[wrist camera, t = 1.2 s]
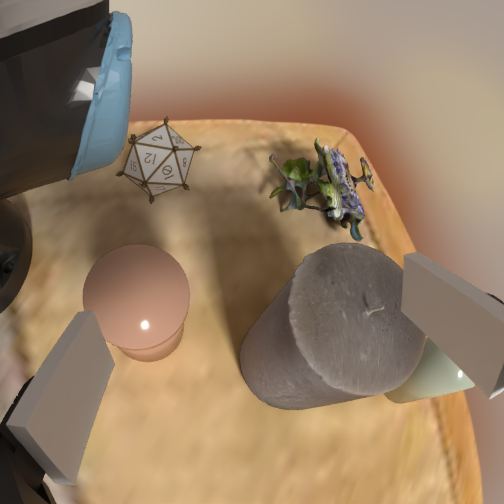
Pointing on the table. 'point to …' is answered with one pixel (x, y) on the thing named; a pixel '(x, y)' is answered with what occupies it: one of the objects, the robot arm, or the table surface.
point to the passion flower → (327, 186)
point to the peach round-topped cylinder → (139, 300)
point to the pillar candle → (333, 332)
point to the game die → (158, 160)
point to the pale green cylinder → (431, 377)
